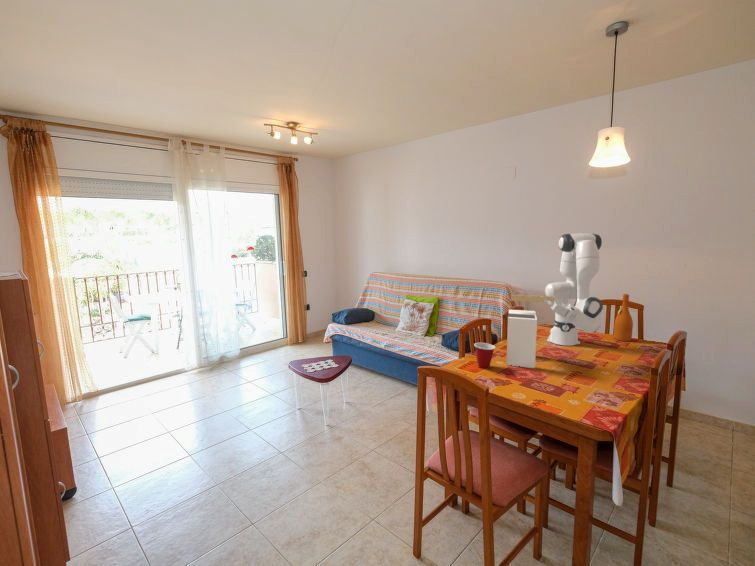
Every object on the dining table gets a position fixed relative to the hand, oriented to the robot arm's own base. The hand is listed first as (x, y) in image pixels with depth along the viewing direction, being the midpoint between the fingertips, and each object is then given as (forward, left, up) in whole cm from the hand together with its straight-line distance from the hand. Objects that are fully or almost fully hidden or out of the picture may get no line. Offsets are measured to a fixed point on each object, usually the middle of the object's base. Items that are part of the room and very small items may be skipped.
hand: (543, 298), depth 194 cm
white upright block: (+5, -11, -34) cm, 36 cm away
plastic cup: (+21, -29, -35) cm, 50 cm away
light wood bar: (0, -6, -2) cm, 6 cm away
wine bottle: (-55, +51, -35) cm, 83 cm away
